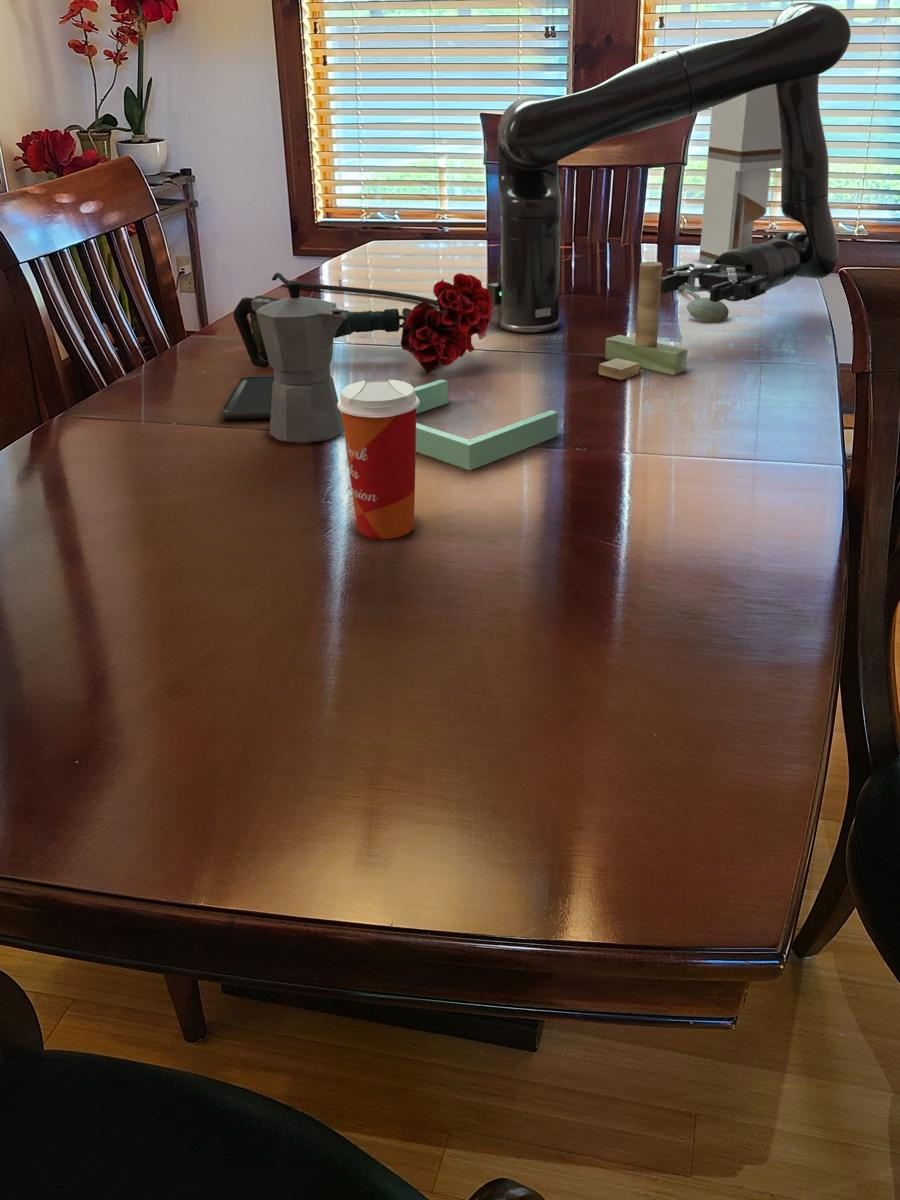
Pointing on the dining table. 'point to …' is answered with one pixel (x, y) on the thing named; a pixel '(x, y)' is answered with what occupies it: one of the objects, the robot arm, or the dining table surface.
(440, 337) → the carnation
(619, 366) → the beige square block
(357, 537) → the dining table surface
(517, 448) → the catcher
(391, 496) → the paper cup
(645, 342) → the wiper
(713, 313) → the soupspoon
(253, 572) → the dining table surface
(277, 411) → the coffeepot
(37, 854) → the dining table surface
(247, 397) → the phone
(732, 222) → the white pillar
